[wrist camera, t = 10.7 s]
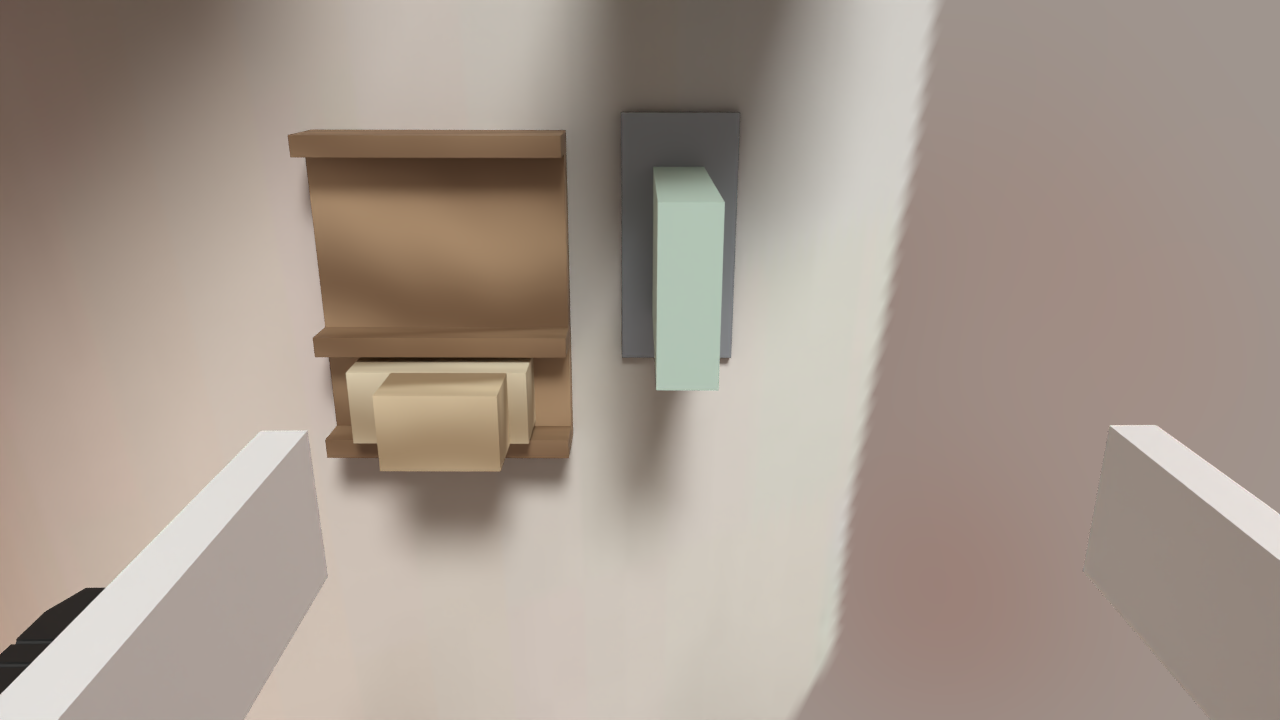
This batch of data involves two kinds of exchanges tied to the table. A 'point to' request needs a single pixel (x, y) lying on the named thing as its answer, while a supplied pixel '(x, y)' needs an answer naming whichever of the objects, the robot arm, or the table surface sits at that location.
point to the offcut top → (442, 421)
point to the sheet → (687, 278)
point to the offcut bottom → (375, 370)
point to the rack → (444, 259)
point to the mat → (642, 149)
